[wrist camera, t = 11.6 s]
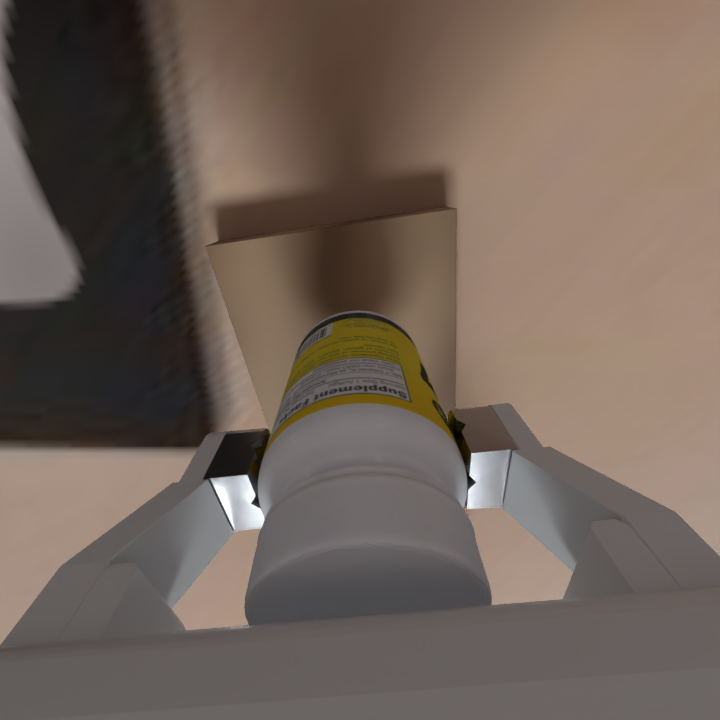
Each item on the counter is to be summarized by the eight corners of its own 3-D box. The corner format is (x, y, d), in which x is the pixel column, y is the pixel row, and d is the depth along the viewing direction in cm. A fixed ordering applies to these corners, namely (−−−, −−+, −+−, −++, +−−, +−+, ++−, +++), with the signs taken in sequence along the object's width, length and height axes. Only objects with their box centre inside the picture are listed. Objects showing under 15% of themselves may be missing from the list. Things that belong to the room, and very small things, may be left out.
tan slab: (443, 206, 14) (456, 208, 12) (445, 392, 19) (455, 413, 17) (222, 239, 15) (205, 246, 13) (278, 414, 19) (271, 437, 18)
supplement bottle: (414, 412, 14) (488, 678, 6) (303, 415, 14) (247, 687, 6) (422, 304, 11) (555, 520, 4) (289, 307, 11) (175, 534, 4)
